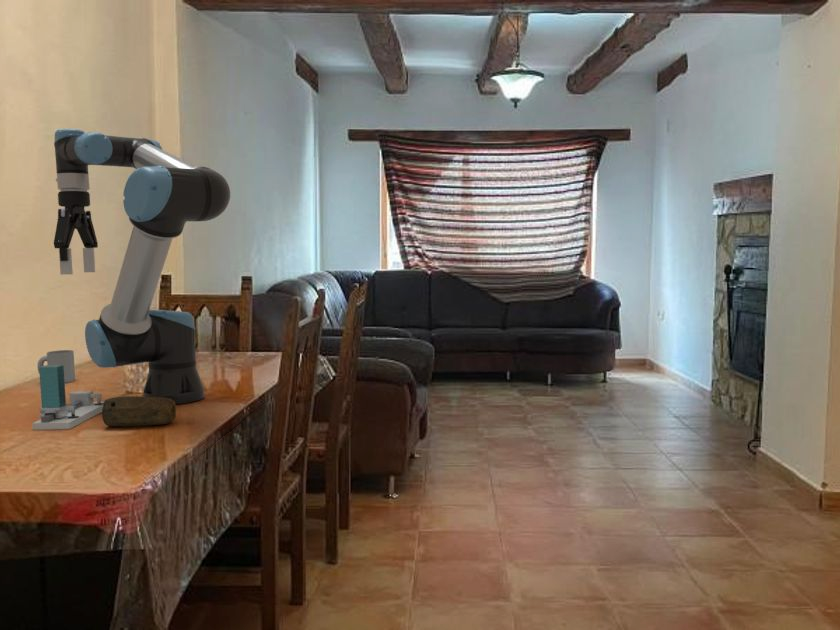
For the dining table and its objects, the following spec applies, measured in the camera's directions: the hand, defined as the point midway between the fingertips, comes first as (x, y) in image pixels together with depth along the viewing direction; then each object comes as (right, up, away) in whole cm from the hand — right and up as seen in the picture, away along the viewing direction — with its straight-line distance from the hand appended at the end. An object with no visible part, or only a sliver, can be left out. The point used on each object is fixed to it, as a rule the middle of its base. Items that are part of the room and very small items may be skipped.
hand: (78, 273), depth 201 cm
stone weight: (+27, -36, -30) cm, 54 cm away
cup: (-18, -31, +27) cm, 45 cm away
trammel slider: (+8, -34, -28) cm, 44 cm away
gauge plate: (+9, -35, -22) cm, 42 cm away
